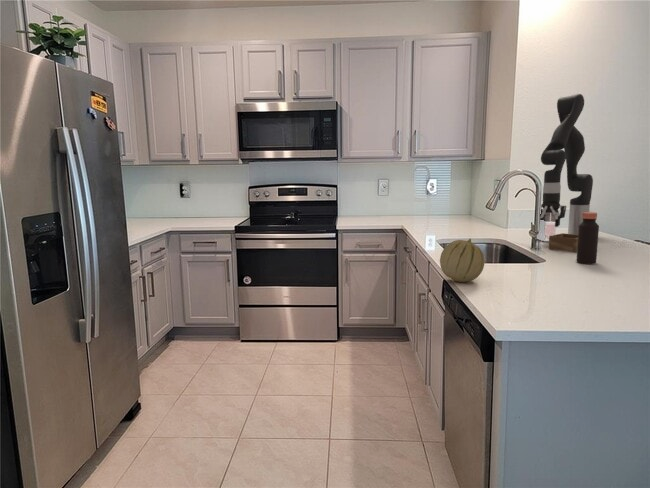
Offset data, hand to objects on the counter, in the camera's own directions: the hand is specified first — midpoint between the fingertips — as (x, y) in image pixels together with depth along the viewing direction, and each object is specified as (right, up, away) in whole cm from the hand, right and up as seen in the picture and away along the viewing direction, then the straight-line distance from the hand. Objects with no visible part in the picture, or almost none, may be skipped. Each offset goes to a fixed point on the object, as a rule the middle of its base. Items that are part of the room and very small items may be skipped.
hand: (549, 226), depth 212 cm
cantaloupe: (-63, -22, -62) cm, 91 cm away
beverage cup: (0, -7, +1) cm, 7 cm away
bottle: (-6, -17, -40) cm, 44 cm away
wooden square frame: (+3, -11, -11) cm, 16 cm away
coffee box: (+4, -7, +13) cm, 15 cm away
